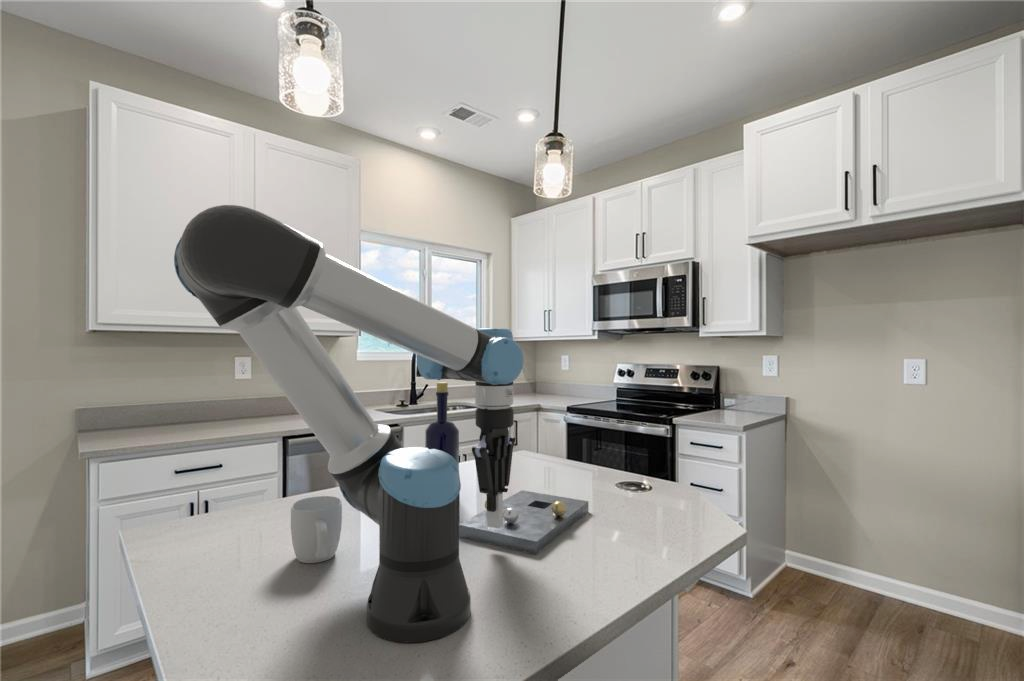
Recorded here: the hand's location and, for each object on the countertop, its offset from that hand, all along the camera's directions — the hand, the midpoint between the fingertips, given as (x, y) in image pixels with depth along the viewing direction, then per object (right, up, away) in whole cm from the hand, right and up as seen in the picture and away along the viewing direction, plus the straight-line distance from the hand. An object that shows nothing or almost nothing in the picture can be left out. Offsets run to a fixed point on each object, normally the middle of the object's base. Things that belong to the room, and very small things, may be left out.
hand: (494, 525), depth 98 cm
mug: (-32, -4, -6) cm, 33 cm away
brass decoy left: (-1, 0, +13) cm, 13 cm away
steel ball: (+3, 0, +6) cm, 7 cm away
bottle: (-15, -4, +29) cm, 33 cm away
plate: (+7, -4, +13) cm, 15 cm away
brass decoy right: (+14, 0, +10) cm, 17 cm away
